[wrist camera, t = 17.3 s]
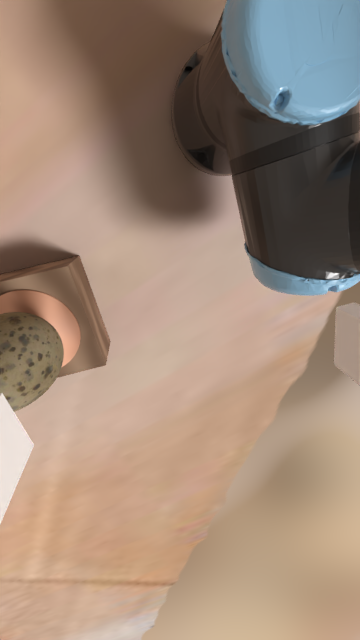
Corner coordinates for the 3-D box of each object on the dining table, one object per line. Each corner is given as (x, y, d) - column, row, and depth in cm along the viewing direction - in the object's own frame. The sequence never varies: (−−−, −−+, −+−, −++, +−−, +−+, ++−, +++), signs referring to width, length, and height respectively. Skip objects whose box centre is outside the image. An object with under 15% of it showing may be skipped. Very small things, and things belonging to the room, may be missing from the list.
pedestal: (79, 255, 43) (66, 266, 36) (110, 341, 50) (105, 366, 42) (-22, 279, 42) (-57, 296, 35) (23, 363, 49) (2, 392, 41)
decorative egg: (-5, 288, 35) (-94, 341, 22) (80, 311, 38) (49, 371, 25) (-15, 357, 39) (-97, 440, 25) (64, 373, 42) (28, 456, 28)
